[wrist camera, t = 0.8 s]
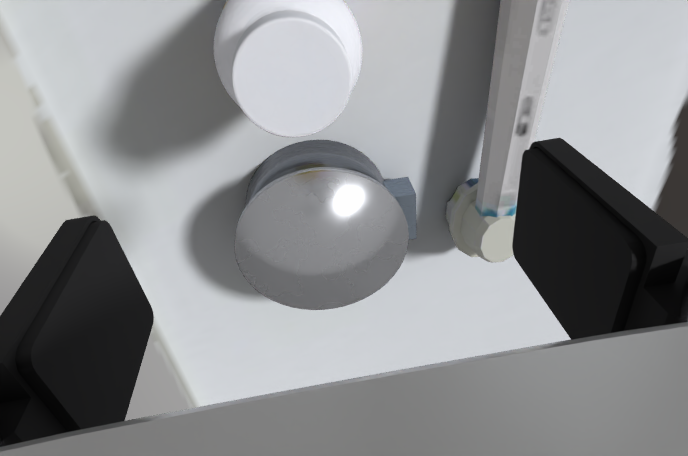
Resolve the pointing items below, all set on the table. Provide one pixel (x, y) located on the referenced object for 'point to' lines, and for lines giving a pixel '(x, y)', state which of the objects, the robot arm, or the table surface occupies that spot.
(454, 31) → the table surface
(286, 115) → the supplement bottle
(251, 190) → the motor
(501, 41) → the light grey long piece
